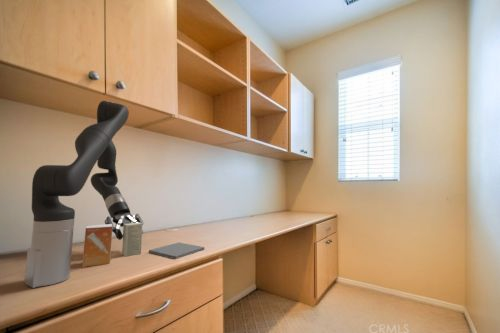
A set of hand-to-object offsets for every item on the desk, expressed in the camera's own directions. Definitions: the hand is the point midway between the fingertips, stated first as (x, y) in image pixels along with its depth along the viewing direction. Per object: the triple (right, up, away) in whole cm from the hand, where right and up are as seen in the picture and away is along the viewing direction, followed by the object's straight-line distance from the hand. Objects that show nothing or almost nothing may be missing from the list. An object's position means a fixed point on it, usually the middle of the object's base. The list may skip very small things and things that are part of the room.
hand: (131, 236), depth 93 cm
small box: (-6, -6, -12) cm, 15 cm away
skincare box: (0, -7, -1) cm, 7 cm away
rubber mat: (+17, -7, +4) cm, 19 cm away
